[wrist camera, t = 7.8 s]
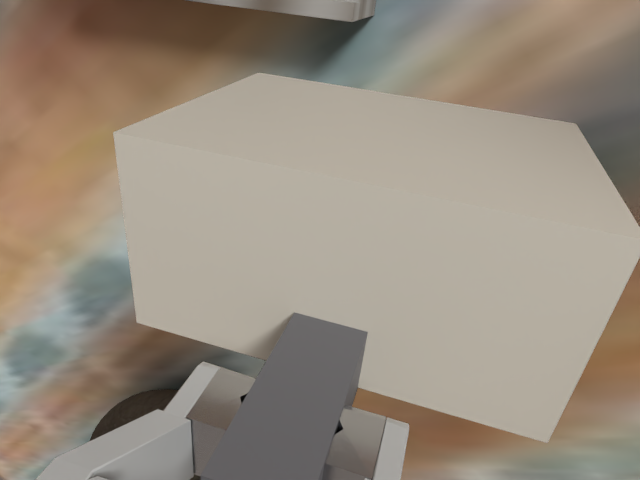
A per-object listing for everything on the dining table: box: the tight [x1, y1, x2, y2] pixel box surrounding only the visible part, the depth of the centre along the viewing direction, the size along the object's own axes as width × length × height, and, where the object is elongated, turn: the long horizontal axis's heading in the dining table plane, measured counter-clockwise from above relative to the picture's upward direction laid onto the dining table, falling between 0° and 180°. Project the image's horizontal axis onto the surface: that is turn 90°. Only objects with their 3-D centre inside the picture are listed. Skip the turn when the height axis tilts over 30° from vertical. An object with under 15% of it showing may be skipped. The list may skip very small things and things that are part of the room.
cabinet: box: [113, 73, 640, 480], centre depth 14 cm, size 12×6×14 cm, turn 84°
